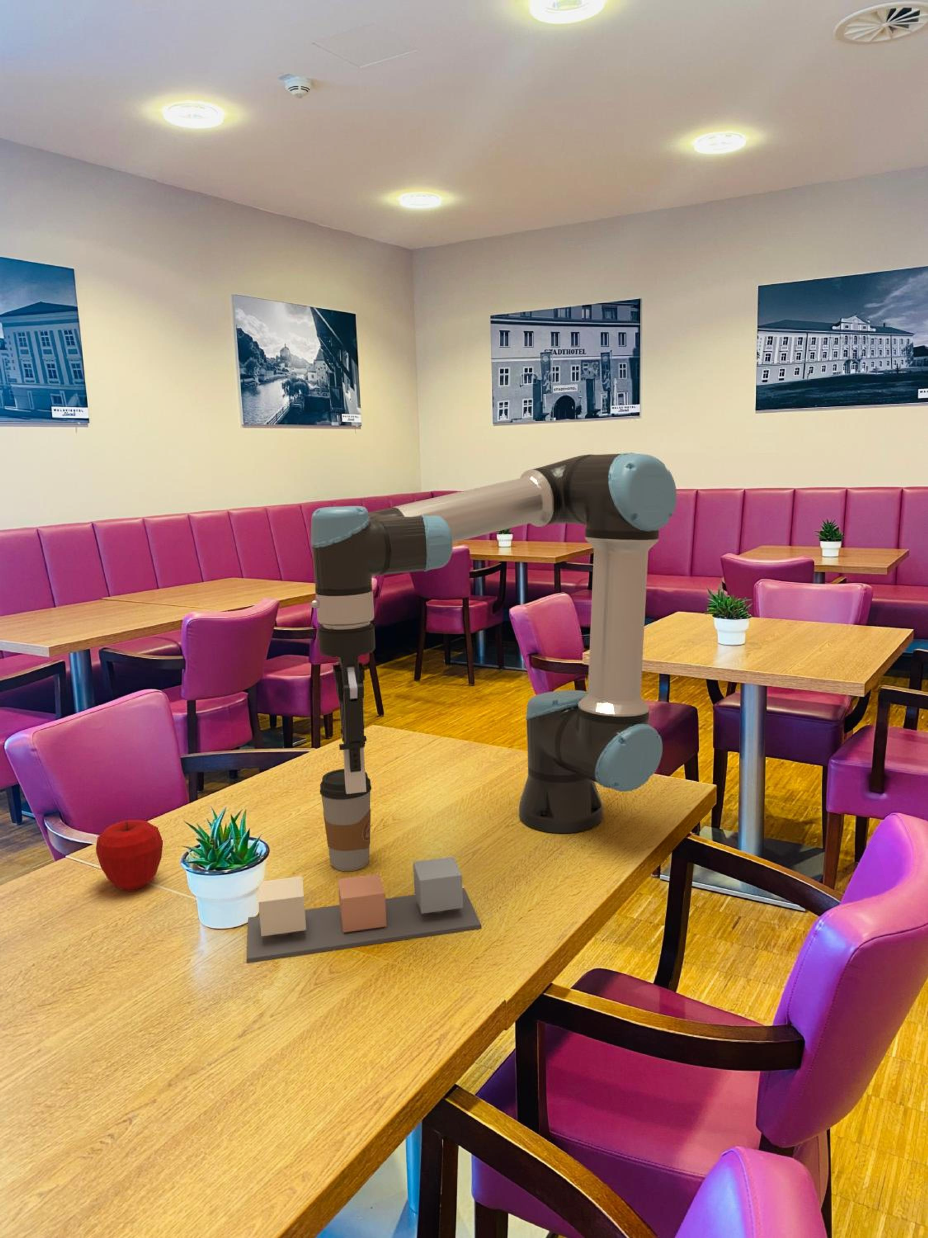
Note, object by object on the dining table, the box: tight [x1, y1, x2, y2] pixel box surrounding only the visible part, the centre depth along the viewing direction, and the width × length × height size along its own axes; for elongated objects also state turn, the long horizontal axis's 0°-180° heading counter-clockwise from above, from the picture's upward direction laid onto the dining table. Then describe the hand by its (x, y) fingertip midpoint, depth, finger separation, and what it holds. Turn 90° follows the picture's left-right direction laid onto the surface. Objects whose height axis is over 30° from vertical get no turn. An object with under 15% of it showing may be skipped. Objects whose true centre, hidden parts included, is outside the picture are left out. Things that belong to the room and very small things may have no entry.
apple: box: [95, 819, 164, 892], centre depth 138 cm, size 10×10×11 cm
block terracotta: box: [337, 873, 386, 932], centre depth 125 cm, size 6×6×5 cm
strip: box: [246, 887, 482, 964], centre depth 125 cm, size 32×11×2 cm, turn 103°
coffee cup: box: [319, 768, 372, 872], centre depth 143 cm, size 8×8×15 cm
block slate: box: [412, 856, 463, 914], centre depth 127 cm, size 6×6×5 cm
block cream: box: [258, 875, 306, 936], centre depth 122 cm, size 6×6×5 cm
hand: (355, 790), depth 122 cm, fingers closed
